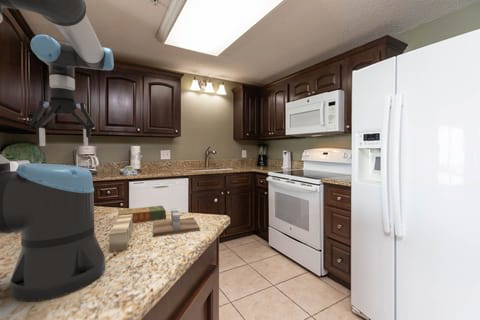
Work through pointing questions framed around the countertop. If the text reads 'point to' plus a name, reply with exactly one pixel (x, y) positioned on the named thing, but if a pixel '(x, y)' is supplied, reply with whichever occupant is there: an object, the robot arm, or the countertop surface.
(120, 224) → the beam
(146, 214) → the carton
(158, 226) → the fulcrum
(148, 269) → the countertop surface
